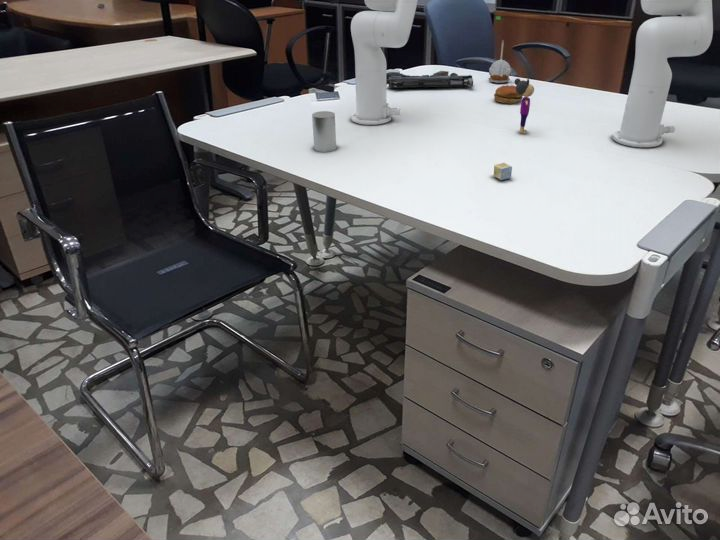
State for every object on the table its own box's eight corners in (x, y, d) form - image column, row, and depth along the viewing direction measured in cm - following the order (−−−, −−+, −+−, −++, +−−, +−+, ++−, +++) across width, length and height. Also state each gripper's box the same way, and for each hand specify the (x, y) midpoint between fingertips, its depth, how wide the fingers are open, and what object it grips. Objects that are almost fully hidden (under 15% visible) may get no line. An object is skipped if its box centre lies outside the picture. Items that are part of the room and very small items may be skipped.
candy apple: (512, 80, 221) (516, 39, 213) (505, 84, 216) (509, 42, 208) (493, 78, 225) (496, 38, 217) (485, 82, 219) (489, 41, 211)
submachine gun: (465, 67, 229) (475, 77, 207) (464, 78, 231) (474, 89, 209) (384, 68, 229) (385, 79, 207) (384, 79, 231) (385, 91, 209)
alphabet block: (500, 180, 135) (501, 168, 134) (492, 176, 138) (494, 164, 136) (511, 178, 136) (512, 166, 135) (503, 174, 139) (504, 162, 137)
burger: (499, 104, 192) (501, 90, 189) (490, 98, 200) (491, 84, 197) (527, 103, 193) (529, 89, 190) (517, 96, 201) (518, 82, 198)
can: (334, 152, 156) (332, 117, 151) (312, 151, 156) (310, 117, 151) (337, 144, 161) (336, 111, 156) (316, 144, 162) (314, 111, 157)
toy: (529, 138, 161) (536, 84, 154) (509, 137, 162) (515, 83, 155) (527, 127, 170) (534, 75, 162) (508, 126, 171) (514, 75, 163)
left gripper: (272, -78, 131) (279, 3, 140) (337, -81, 125) (341, 5, 133) (289, -79, 137) (295, 0, 146) (353, -81, 130) (355, 1, 139)
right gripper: (724, -58, 112) (699, 34, 121) (797, -57, 98) (763, 49, 106) (757, -60, 113) (730, 33, 122) (835, -58, 99) (798, 46, 108)
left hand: (317, 2), depth 140 cm, fingers open, 9 cm apart
